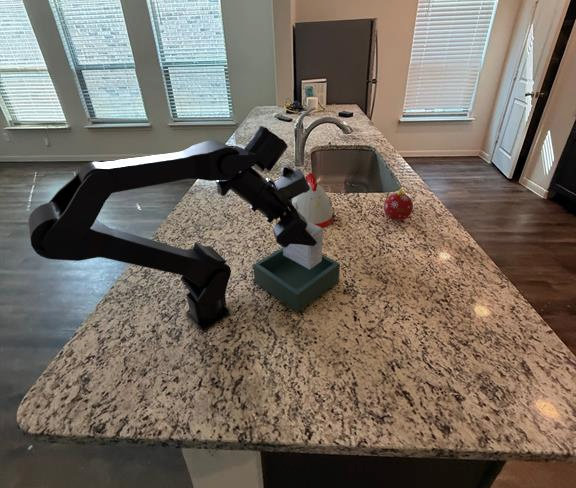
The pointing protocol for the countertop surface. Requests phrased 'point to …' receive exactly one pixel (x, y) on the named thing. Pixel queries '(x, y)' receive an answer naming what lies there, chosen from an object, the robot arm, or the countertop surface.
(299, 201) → the white chicken figure
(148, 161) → the robot arm
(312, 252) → the medicine box
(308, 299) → the open square tray
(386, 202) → the christmas ornament
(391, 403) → the countertop surface
